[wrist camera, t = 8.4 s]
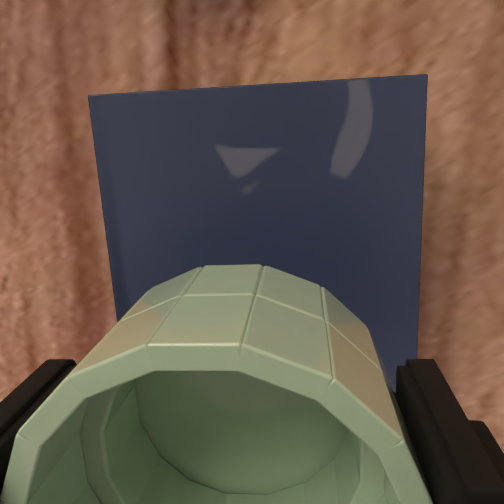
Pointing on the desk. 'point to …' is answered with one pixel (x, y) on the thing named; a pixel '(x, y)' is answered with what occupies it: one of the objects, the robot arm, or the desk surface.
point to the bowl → (223, 404)
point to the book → (272, 190)
